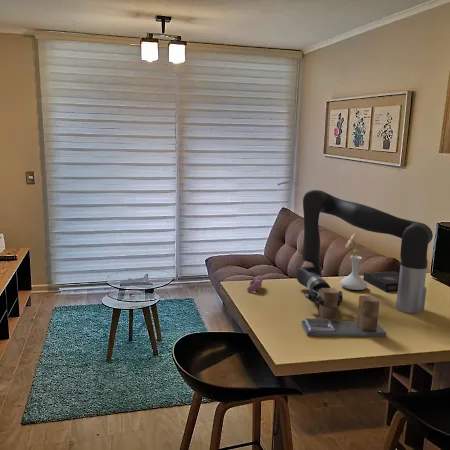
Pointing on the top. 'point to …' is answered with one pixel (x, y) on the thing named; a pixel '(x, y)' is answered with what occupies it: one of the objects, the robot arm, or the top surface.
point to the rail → (338, 328)
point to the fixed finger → (368, 312)
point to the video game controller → (255, 284)
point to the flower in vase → (354, 271)
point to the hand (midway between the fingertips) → (330, 303)
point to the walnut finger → (329, 303)
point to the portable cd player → (383, 280)
